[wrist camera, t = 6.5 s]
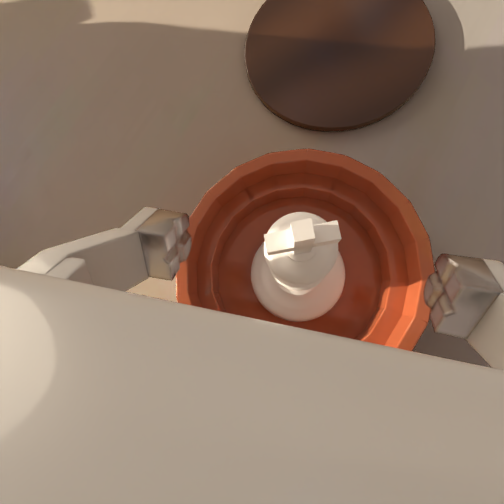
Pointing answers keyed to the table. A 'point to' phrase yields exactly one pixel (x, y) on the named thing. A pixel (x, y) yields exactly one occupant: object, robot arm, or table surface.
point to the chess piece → (299, 267)
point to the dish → (350, 246)
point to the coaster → (338, 59)
